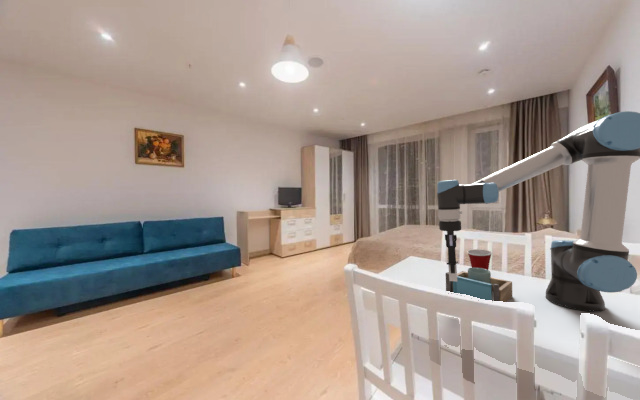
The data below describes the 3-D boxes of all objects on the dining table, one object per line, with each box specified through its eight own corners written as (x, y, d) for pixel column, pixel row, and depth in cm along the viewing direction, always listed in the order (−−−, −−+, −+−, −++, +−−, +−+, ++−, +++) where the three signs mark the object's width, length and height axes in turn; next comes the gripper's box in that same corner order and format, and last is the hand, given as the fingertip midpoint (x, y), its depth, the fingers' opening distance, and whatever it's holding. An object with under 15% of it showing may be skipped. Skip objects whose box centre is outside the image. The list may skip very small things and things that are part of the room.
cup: (494, 298, 95) (494, 273, 95) (472, 297, 96) (472, 273, 96) (485, 291, 102) (485, 267, 102) (465, 290, 104) (464, 267, 104)
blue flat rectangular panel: (492, 303, 90) (492, 284, 90) (490, 304, 90) (490, 285, 89) (454, 292, 101) (454, 275, 101) (453, 293, 100) (452, 276, 100)
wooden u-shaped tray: (512, 296, 96) (512, 275, 96) (499, 308, 87) (498, 285, 87) (461, 283, 111) (461, 265, 111) (446, 292, 102) (445, 273, 102)
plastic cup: (462, 272, 127) (461, 249, 126) (479, 270, 129) (479, 248, 128) (479, 279, 116) (478, 254, 116) (498, 277, 118) (497, 252, 118)
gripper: (461, 221, 86) (465, 287, 86) (460, 218, 98) (463, 276, 98) (438, 222, 90) (442, 285, 90) (439, 218, 101) (442, 274, 101)
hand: (453, 280), depth 94 cm, fingers closed
